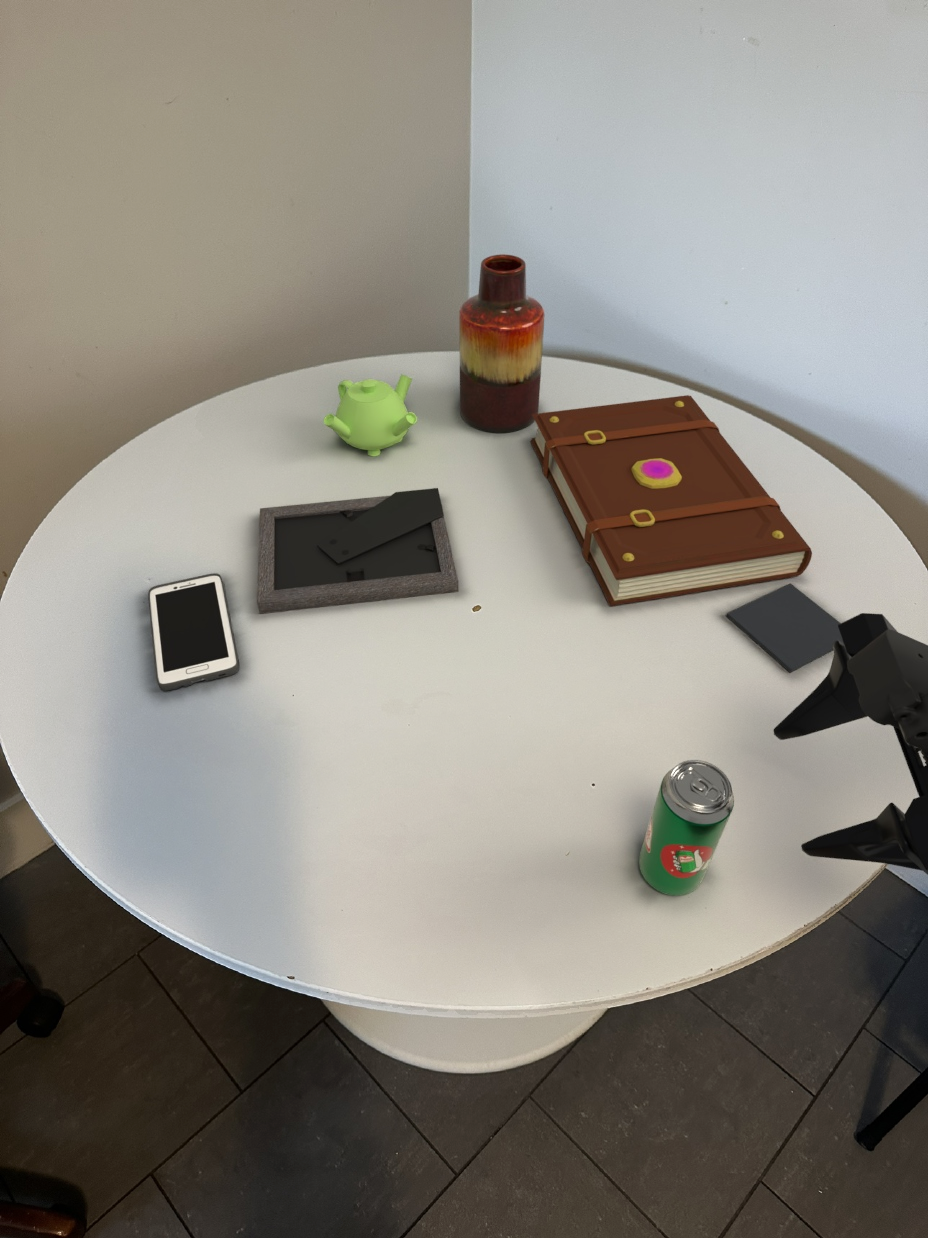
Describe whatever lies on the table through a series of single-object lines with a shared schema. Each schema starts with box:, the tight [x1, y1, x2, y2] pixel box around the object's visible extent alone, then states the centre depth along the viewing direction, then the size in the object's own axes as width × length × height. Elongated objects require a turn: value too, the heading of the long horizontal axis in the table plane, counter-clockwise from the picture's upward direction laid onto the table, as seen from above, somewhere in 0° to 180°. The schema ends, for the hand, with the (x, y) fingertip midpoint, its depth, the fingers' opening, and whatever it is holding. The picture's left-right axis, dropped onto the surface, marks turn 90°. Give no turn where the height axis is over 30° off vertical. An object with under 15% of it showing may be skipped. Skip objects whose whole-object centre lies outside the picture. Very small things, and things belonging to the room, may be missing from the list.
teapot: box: [323, 373, 418, 457], centre depth 105 cm, size 11×12×8 cm
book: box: [529, 394, 813, 607], centre depth 96 cm, size 23×32×5 cm
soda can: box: [638, 759, 735, 897], centre depth 61 cm, size 5×5×12 cm
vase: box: [458, 253, 546, 434], centre depth 105 cm, size 11×11×20 cm
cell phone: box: [147, 572, 240, 691], centre depth 83 cm, size 8×15×1 cm, turn 19°
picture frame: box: [256, 487, 459, 615], centre depth 91 cm, size 16×2×21 cm
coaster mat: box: [726, 582, 844, 674], centre depth 83 cm, size 9×9×1 cm
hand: (789, 789), depth 56 cm, fingers open, 9 cm apart
